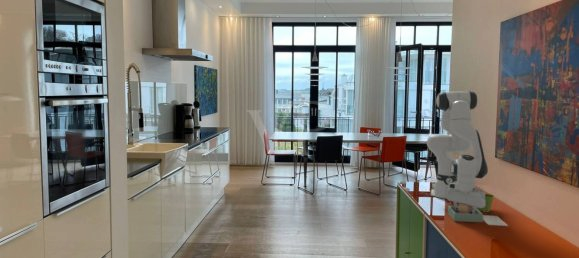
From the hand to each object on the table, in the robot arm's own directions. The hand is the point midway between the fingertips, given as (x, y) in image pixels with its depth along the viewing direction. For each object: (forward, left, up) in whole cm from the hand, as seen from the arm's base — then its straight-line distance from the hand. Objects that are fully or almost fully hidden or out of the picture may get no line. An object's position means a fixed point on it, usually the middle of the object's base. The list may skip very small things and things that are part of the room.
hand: (464, 212), depth 220 cm
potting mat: (+3, +13, -3) cm, 14 cm away
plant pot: (-15, +14, -3) cm, 21 cm away
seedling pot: (0, 0, -3) cm, 3 cm away
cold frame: (0, 0, -3) cm, 3 cm away
